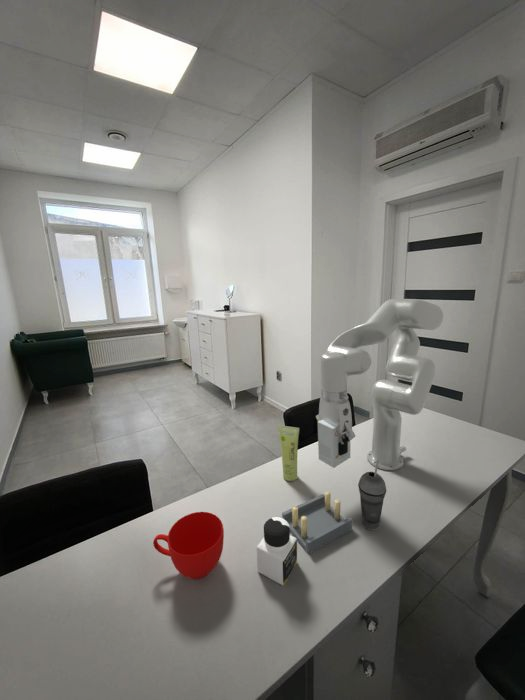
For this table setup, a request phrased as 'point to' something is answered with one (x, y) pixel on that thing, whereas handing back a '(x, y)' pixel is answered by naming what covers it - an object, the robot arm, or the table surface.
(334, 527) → the pin tray
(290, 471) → the tube
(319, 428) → the small box
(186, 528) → the ceramic cup
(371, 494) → the beverage cup
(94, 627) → the table surface
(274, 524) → the medicine bottle
